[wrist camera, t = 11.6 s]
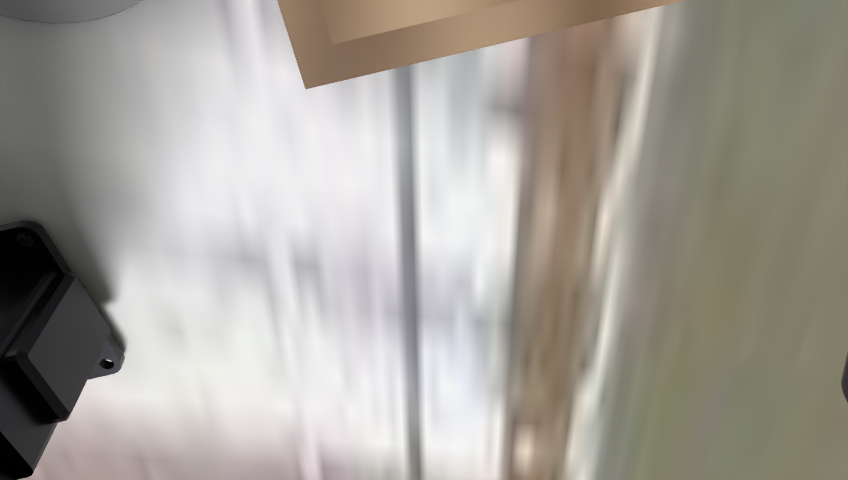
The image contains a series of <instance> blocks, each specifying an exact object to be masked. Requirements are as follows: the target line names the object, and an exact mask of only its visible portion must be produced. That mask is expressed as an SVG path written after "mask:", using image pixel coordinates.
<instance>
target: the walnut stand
mask: <svg viewBox="0 0 848 480" xmlns="http://www.w3.org/2000/svg"><path fill="white" fill-rule="evenodd" d="M679 1H683V0H278V4H279V7H280V10H281V13H282V16H283V19H284V23H285V26H286V29H287V32H288V35H289V38H290V41H291V45H292V48H293V51H294V54H295V57H296V60H297V63H298V67H299V70H300V73H301V76H302V79H303V82H304V86H305V89H308V88H313V87H317V86H321V85H325V84H330V83H334V82H338V81H343V80H347V79H351V78H355V77H360V76H364V75H368V74H372V73H377V72H381V71H385V70H389V69H394V68H398V67H402V66H406V65H411V64H415V63H419V62H423V61H428V60H432V59H436V58H440V57H445V56H449V55H453V54H458V53H462V52H466V51H470V50H475V49H479V48H483V47H487V46H492V45H496V44H500V43H504V42H509V41H513V40H517V39H521V38H526V37H530V36H534V35H538V34H543V33H547V32H551V31H555V30H560V29H564V28H568V27H573V26H577V25H581V24H585V23H590V22H594V21H598V20H602V19H607V18H611V17H615V16H619V15H624V14H628V13H632V12H636V11H641V10H645V9H649V8H653V7H658V6H662V5H666V4H670V3H675V2H679Z"/></svg>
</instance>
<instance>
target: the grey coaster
mask: <svg viewBox="0 0 848 480" xmlns="http://www.w3.org/2000/svg"><path fill="white" fill-rule="evenodd" d="M140 1H142V0H0V15H3V16H7V17H12V18H17V19H21V20H26V21H33V22H43V23H78V22H84V21H90V20H96V19H100V18H103V17H106V16H109V15H113V14H116V13H119V12H121V11H123V10H125V9H127V8H129V7H131V6H133V5H135V4H137V3H139V2H140Z"/></svg>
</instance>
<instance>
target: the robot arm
mask: <svg viewBox="0 0 848 480" xmlns="http://www.w3.org/2000/svg"><path fill="white" fill-rule="evenodd" d="M22 234H27V235H30V236H31V237H32V238H33V240H28V239H26V238H25V237H23V236H22ZM124 358H125V357H124V354H123V352H122V351H121V349H120V348H119V346H118V344H117V343H116V341H115V340H114V338H113V336H112V335H111V333H110V328H109V326H108V325H107V323H106V322H105V320H104V318H103V317H102V315H101V314H100V312H99V311H98V309H97V307H96V306H95V304H94V303H93V301H92V299H91V298H90V296H89V295H88V293H87V292H86V290H85V288H84V287H83V285H82V284H81V282H80V280H79V279H78V278H77V277H76V276H75V275H74V274H73V273H72V272H71V270H70V269H69V267H68V265H67V264H66V262H65V261H64V259H63V258H62V256H61V254H60V253H59V251H58V250H57V248H56V247H55V245H54V243H53V242H52V240H51V239H50V237H49V235H48V234H47V232H46V231H45V229H44V228H43V227H42V226H41V225H39V224H37V223H36V222H32V221H19V222H15V223H10V224H6V225H2V226H0V480H17V479H22V478H26V477H29V476H31V475H32V474H33V472H34V470H35V468H36V466H37V464H38V462H39V460H40V458H41V456H42V454H43V452H44V450H45V448H46V446H47V444H48V442H49V440H50V438H51V436H52V434H53V431H54V429H55V427H56V425H57V423H58V422H62V421H66V420H67V419H68V418H69V416H70V414H71V412H72V410H73V408H74V406H75V404H76V402H77V400H78V398H79V396H80V394H81V392H82V389H83V387H84V385H85V383H86V381H87V380H88V379H92V378H97V377H101V376H106V375H110V374H114V373H116V372H118V371H119V370H120V369H121V367H122V365H123V362H124ZM105 359H109V360H111V361H113V362H109V361H106V360H105ZM841 384H842V390H843V394H844V396H845V398H846V400H847V402H848V353H847V358H846V362H845V367H844V371H843V375H842V381H841Z"/></svg>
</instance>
